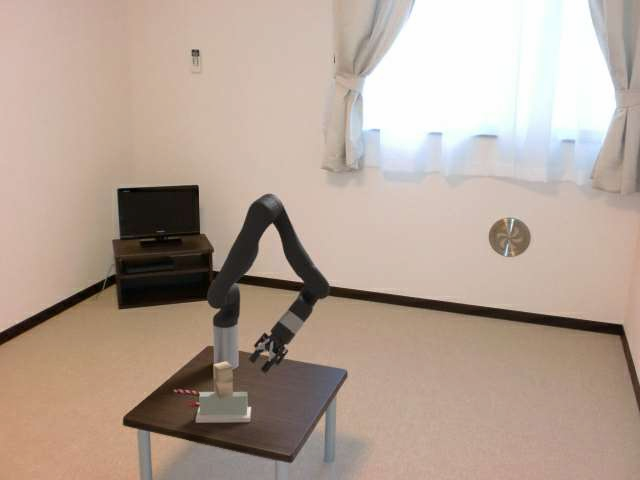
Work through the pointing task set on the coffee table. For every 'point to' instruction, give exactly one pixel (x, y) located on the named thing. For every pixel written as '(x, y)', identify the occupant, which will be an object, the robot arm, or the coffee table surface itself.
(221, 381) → the pine block
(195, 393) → the candy cane
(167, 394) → the coffee table surface
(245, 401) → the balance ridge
